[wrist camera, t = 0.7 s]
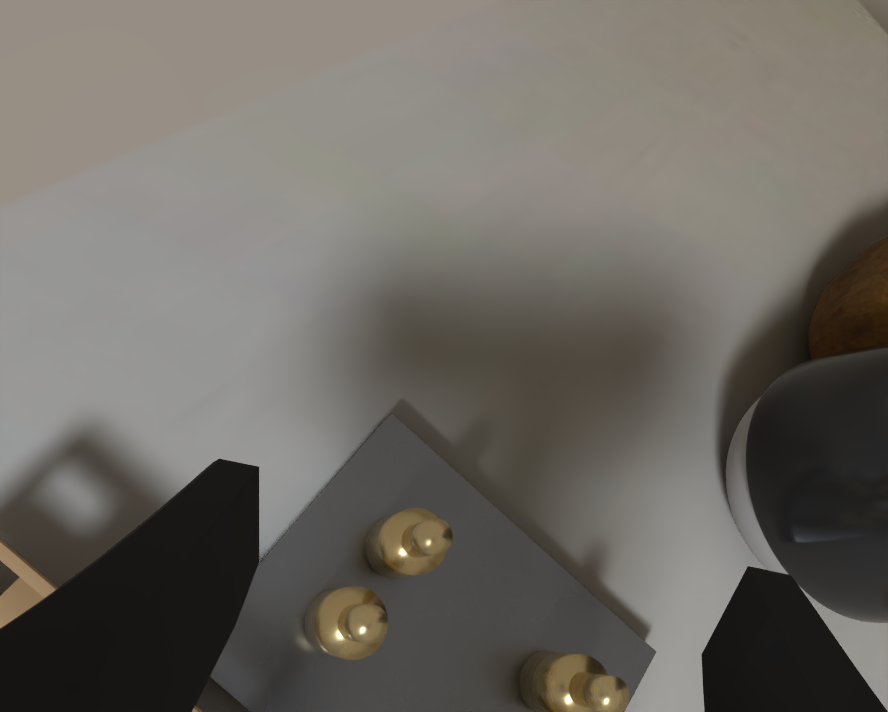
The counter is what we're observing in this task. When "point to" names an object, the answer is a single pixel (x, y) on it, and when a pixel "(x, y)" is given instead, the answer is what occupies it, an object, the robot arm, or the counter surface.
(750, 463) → the dark grey tall dome
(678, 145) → the counter surface
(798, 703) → the robot arm
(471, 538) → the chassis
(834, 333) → the potato
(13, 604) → the wooden frame
